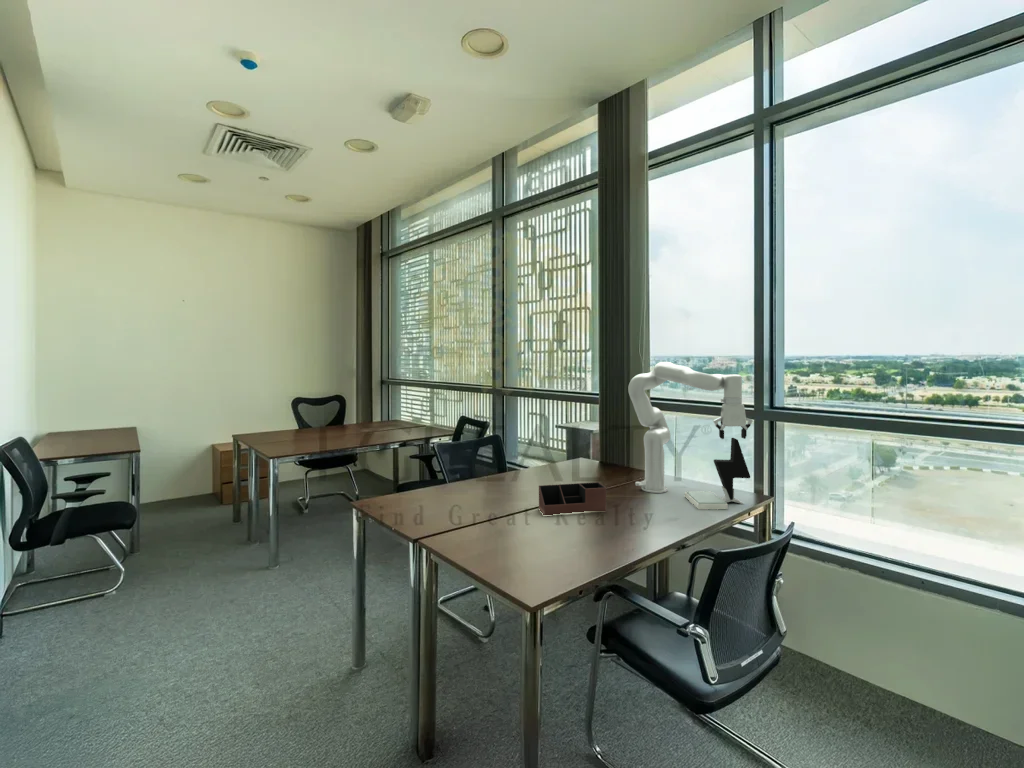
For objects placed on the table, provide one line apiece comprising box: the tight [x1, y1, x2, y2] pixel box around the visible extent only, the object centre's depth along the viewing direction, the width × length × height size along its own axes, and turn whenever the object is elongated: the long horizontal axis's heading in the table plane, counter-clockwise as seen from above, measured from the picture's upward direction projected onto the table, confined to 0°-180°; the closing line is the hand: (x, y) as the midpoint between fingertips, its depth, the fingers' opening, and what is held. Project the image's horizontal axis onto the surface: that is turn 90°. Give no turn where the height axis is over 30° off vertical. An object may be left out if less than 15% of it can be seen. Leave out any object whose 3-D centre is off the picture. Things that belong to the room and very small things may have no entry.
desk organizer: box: [538, 481, 607, 515], centre depth 217 cm, size 10×29×11 cm, turn 101°
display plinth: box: [684, 490, 729, 511], centre depth 226 cm, size 13×19×3 cm
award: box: [713, 437, 751, 505], centre depth 226 cm, size 15×5×30 cm, turn 85°
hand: (732, 438), depth 225 cm, fingers open, 9 cm apart
